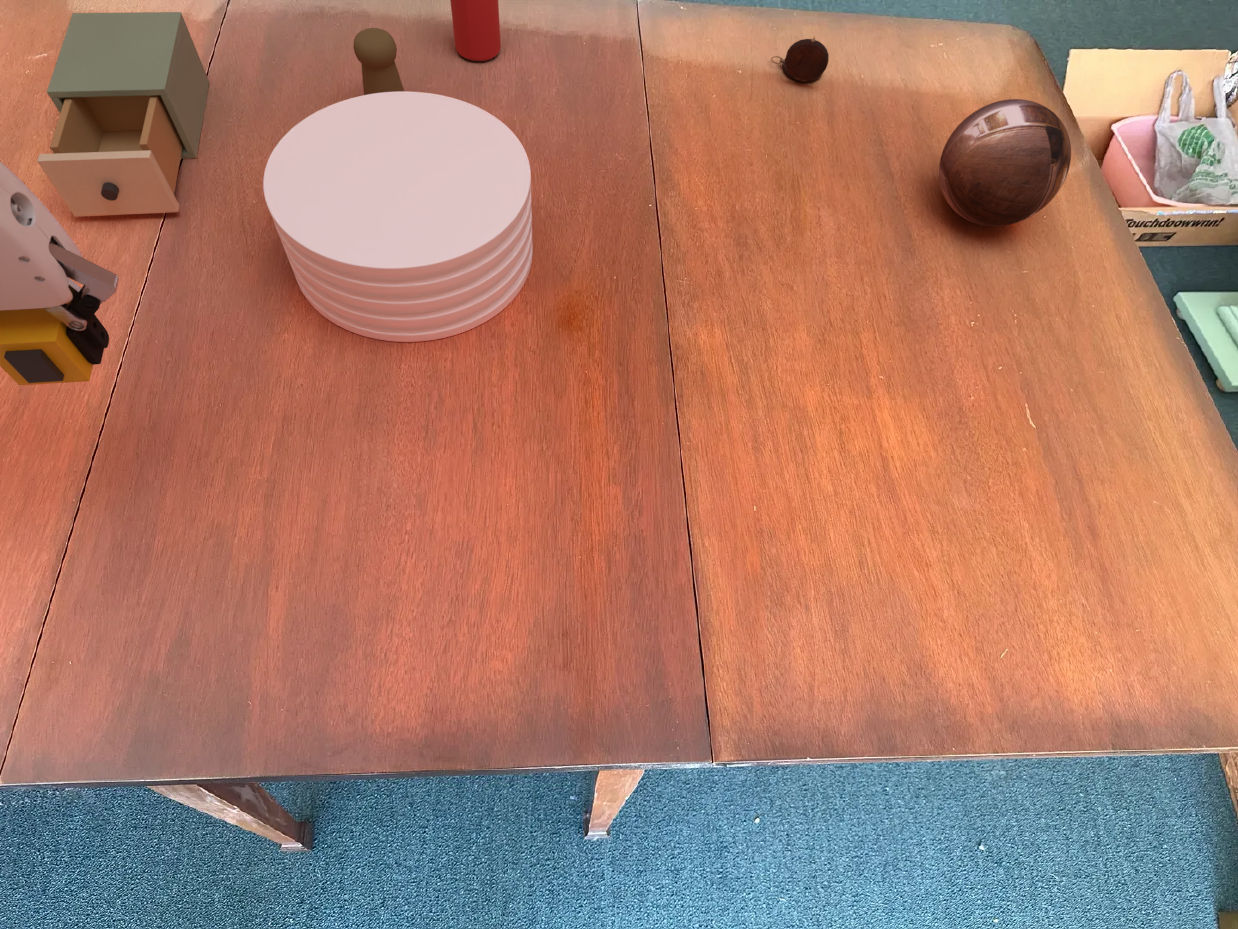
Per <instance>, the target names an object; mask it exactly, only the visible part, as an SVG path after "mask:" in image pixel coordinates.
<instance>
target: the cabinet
mask: <svg viewBox="0 0 1238 929" xmlns="http://www.w3.org/2000/svg"><path fill="white" fill-rule="evenodd" d="M62 41H63V42H62V45H61V47H60V49H59V50H60V51H59V53H58V56H57V59H56V62H55V66H54V68H53V72H52V75H51V78H50V81H49V84H48V87H47V89H46V93H47V95H48V96H49V98H50V100H51V101H52V103H53V105H54V107H55V108H56V109H57V111H58V113H59V114H60V113H61V110H62V106H63V103H64V100H65V97H107V96H149V95H161V98H162V100H163V102H164V104H165V106H166V108H167V110H168V112H169V114H170V117H171V119H172V121H173V123H174V125H175V127H176V129H177V131H178V134H179V136H180V138H181V140H182V142H183V148H182V153H181V159H180V160H182V159H183V160H184V159H185V160H187V159H197V158H198V153H199V152H198V151H199V146H200V140H201V135H202V128H203V123H204V117H205V112H206V111H205V110H206V104H207V99H208V94H209V93H208V92H209V87H210V80H209V77H208V74H207V73H206V70H205V68H204V66H203V63H202V60H201V57H200V55H199V53H198V51H197V48H196V46H195V42H194V41H193V38H192V35H191V32H190V31H189V27H188V26H187V23H186V21H185V18H184V15H183V13H182V11H147V12H143V11H141V12H137V11H136V12H135V11H134V12H72V13H71V16H70V20H69V23H68V26H67V29H66V32H65V35H64V38H63V40H62Z"/></svg>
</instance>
